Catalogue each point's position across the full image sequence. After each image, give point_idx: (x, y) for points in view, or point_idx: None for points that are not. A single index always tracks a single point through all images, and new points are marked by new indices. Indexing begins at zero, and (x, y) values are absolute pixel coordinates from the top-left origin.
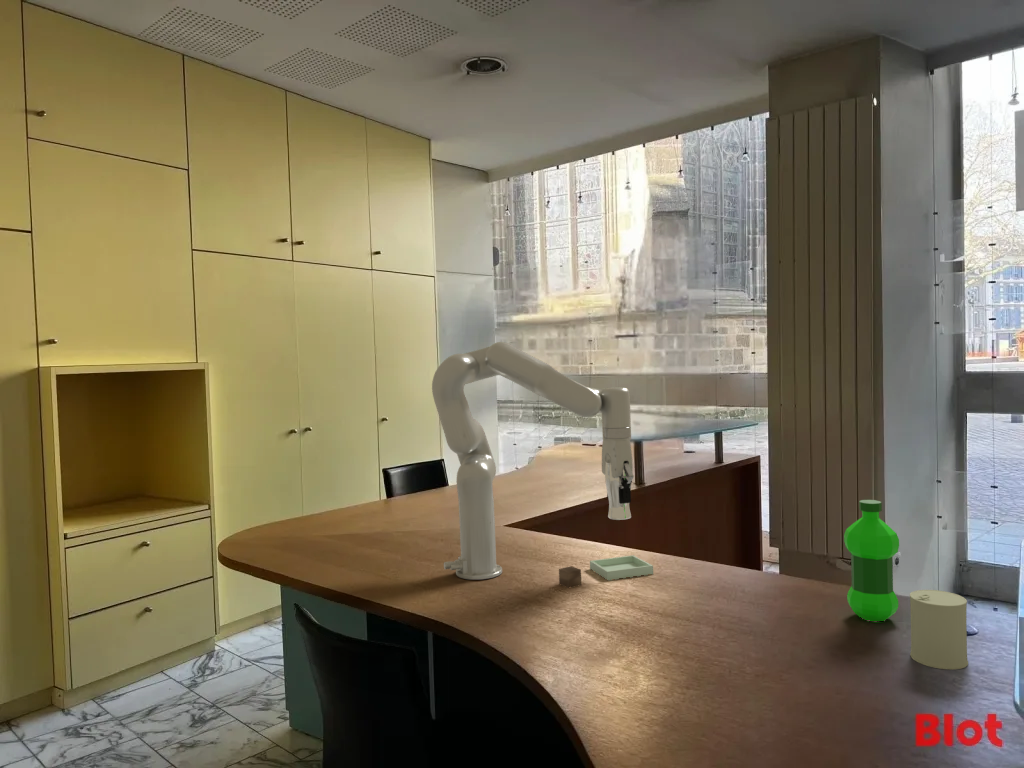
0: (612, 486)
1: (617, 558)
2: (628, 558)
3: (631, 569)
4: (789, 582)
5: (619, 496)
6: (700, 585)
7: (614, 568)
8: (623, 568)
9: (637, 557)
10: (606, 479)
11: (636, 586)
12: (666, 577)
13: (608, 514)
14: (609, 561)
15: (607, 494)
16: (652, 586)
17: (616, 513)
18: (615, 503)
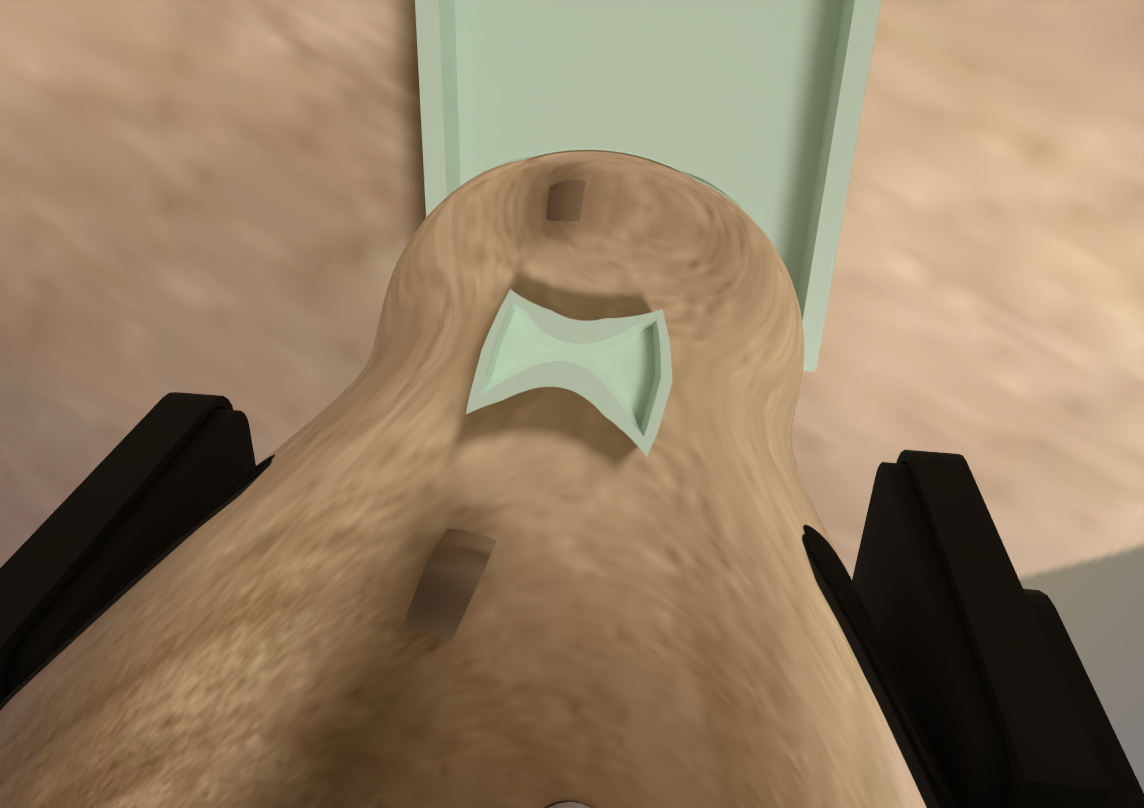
0: (109, 605)
1: (823, 192)
2: (802, 302)
3: (422, 126)
4: None
5: (96, 488)
6: (101, 438)
7: (710, 76)
8: (666, 155)
9: None
10: (355, 806)
11: (182, 8)
12: (339, 351)
13: (656, 180)
14: (836, 93)
15: (971, 512)
16: (151, 135)
17: (415, 261)
18: (383, 356)
